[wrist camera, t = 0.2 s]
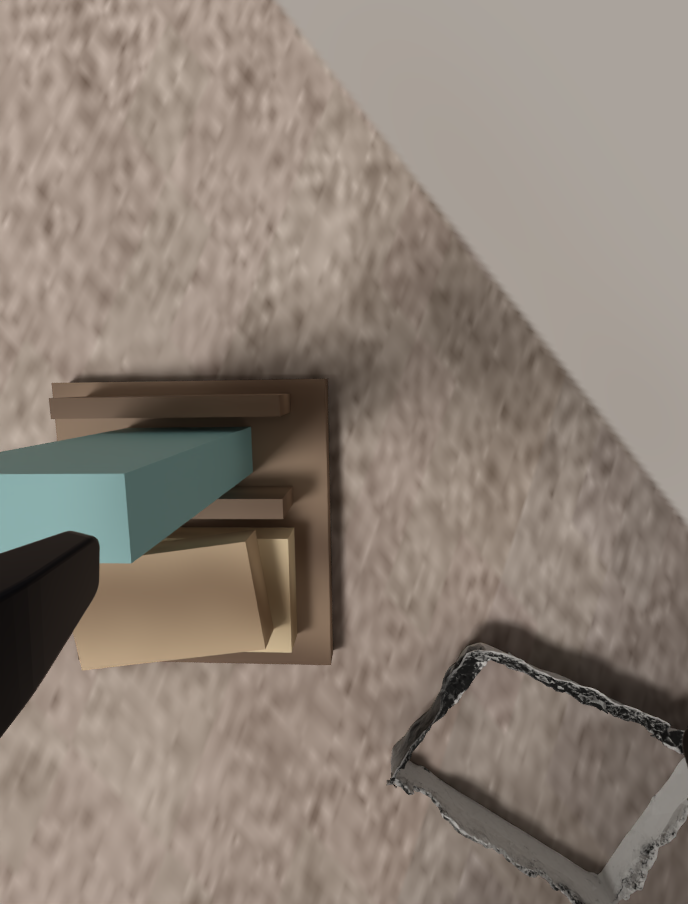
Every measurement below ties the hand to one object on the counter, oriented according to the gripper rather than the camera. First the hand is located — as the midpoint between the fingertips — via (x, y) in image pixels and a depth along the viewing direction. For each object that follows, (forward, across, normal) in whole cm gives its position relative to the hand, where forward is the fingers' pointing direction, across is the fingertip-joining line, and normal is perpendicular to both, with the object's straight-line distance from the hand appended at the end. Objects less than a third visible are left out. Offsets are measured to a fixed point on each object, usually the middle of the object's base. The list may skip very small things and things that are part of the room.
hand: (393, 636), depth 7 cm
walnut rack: (+14, +7, +9) cm, 18 cm away
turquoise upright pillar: (+14, +8, +5) cm, 17 cm away
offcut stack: (+12, +7, +11) cm, 17 cm away
